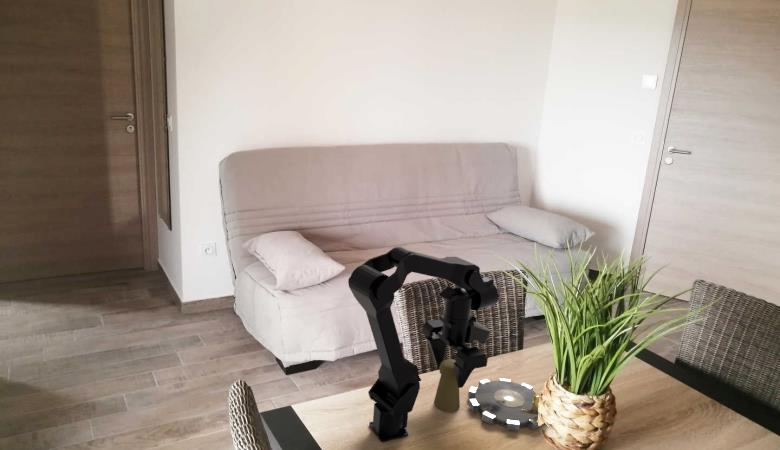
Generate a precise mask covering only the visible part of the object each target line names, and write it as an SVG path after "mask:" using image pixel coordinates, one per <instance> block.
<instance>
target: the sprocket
mask: <svg viewBox="0 0 780 450" xmlns="http://www.w3.org/2000/svg"><path fill="white" fill-rule="evenodd" d="M533 389H534V386H531V385H530V384H527V383H525V382H522V383H521V384H519V383H516V382H513V381H511V379H510V378H501V377H499V380H492V381H491V380H489V378H484V379H482V380H479V381H478V386H477V387H476V386H473V385H471V386H470V387H469V390H468V392H467V393H468V394H467V398H469V399H468V407H469V408H470V410H471V411H472V412H473V413H475V412H478V413H480V415H481V420H482V421H483V422H486V423H487V424H489V425H491V426H492V425H494V424H497V425H498V424H499V425H500V426H505V428H506V430H508V431H516V432H518V431H519V430H520V428H525V427H528V428H529V429H531V430H536V429H539V428H540V427H538V403H539V398H540V394H541V393H536V392H535V391H534V390H533Z"/></svg>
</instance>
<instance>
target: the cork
mask: <svg viewBox="0 0 780 450" xmlns="http://www.w3.org/2000/svg"><path fill="white" fill-rule="evenodd" d="M455 362H456V361H455V359H452V358H448V359H447V358H446V359H444V360H443V361H442V362H441V364H440V367H438V368H439V369H438V370H439V373H440V377H439V381H438V385H437V389H436V393H435V397H434V399H433V406H434V407H435V408H436V409H437V410H439V411H441V412H445V413H454V412H457V411H458V410H460V404H461V403H460V401H461V399H460V398H461V397H460V388H459V387H458V384H457V379H456V373H455V368H454V363H455Z"/></svg>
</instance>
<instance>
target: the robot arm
mask: <svg viewBox="0 0 780 450" xmlns="http://www.w3.org/2000/svg"><path fill="white" fill-rule="evenodd" d="M394 268H396V269H395V270H394V272H393V273H392V274H391V275H387V274H385V273H384V272H386V271H389V270H391V269H394ZM480 269H481V268H480V267H479V265H476V264H474V263H472V262H470V261H468V260H466V259H463V258H460V257H458V256H445V257H443V258H442V257H441V258H440V257H436V256H432V255H428V254H424V253H421V252H417V251H412V250H408V249H406V248H404V247H402V246H397V247H396V246H395V247H393V248H392V249H390V250H389V251H388V252H386V253H384V254H380V255H378V256H375V257H372V258H369V259H368V260H367V261H365V262H364V263H362V264H361V265H359V266H356V268H355V269H354V270H353V271H352V272H351V274H350V276H349V278H348V279H347V280H348V281H347V282H348V288H349V289H350V291H351V293H352V294H353V297H354V298H355V300H356V301H357V302H358V304H359V305H360V306H361V307H362V309H363V310H364V311H365V313H366V314H365V315H366V317H367V319H368V320H367V321H368V323H369V326H370V330H371V332H372V336H373V340H374V343H375V347H376V350H377V353H378V357H379V359H380V362H381V365H380V367H379V369H378V371H377V374H378V378H376V381H375V382H374V383H373V385H372V386H371V387H370V388H369V390H368V396H369V399H370V400H371V401H373V402H375V403H373V416H372V421H370V422H369V424H368V425H369V427H370V428H371V430H372V431H373V433H374V434H375V435H376V437H377V438H378V440H379V441H380V442H382V443H383V442H388V441H392V440H397V439H399V438H400V439H401V438H403V437H407V436H409V431H408V430H407V429H406V428H407V427H408V418H409V413H412V411H413V408H414V406H415V403H416V401H417V397H418V395H419V392H420V389H421V384H420V382H421V381H422V379H421V377H420V375H419V369H418V366H417V365H416V364H415V363H413V362H412V361H410V360H408V359H407V358H405V357H404V352H403V350H402V345H401V342H400V338H399V334H398V330H397V327H396V324H395V320H394V316H393V312H392V309H391V307H392V305H393V302H394V300H395V293H396V292H397V291H399V290H400V289H401V288H402V287H403V285H404V283H405V280H406V279H407V276H408V275H410V273H415V274H419V275H425V276H429V277H434V278H438V279H442V280H445V281H446V282H449V283H451V284H453V285H455V286H456V287H451V286H446V287H445V289H442V290H441V291H440V292H439V294H438V295H439V297H440V298H443V299H444V300H445V302H444V312H443V314H441V315H439V319H434V320H428V321H427V320H426V321H425V322H424V324H423V325H422V332H421V333H422V334H423V335H424V339H425V340H426V341H427V345H428V347H429V349H430V351H431V354H432V357H433V360H434V362H435V365H436V367H437V368H439V367H440V364H441V362H442V361H444V360H445V354H446V350H447V349H446V348H447V346H448V347H452V348H453V350H455V351H456V353H455V354H454V360H455V361H456V362H455V363H454V368H455V373H456V379H457V384H458V387H459V389H462V388H463V387H464V386H465V384H466V382H467V381H468V379H469V377H470V376H471V374H472V373H473V371H474V370H475V369H480V368H484V367H487V366H488V361H489V357H488V355H487V354H486V353H485V352H483V351H482V350H481V349H479V348H478V347H477V346H473V347H468V346H467V345H466V344H468V345H469V344H474V341H476V342H479V343H482V344H487V341H488V339H489V337H490V334H491V329H489V328H488V327H487V326H485V325H484V324H482V323H481V322H479V321H478V320H477V317H476V316H475V315H474V314H471V310H472V311H479V310H482V309H485V308H488V307H491V306H494V305H496V304H497V303H498V301H499V300H500V298H499V297H500V295H499V291H498V288H497V287H496V285H495V284H494V278H492V277H489V276H484V277H482V274H481V272H480V271H481V270H480Z"/></svg>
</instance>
